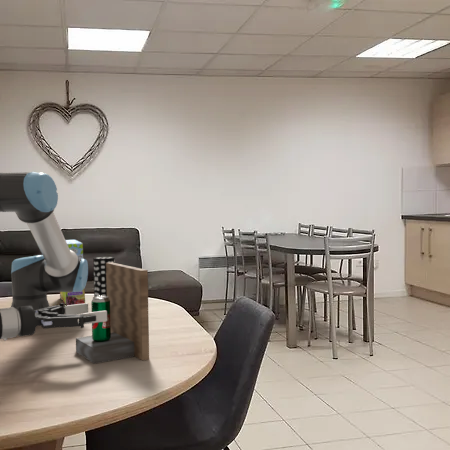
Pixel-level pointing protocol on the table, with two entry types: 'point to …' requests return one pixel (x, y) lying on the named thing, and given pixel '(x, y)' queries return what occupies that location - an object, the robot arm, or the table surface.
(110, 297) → the wall board
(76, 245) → the snack box
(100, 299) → the soda can
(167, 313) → the table surface
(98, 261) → the spotted tube
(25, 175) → the robot arm
